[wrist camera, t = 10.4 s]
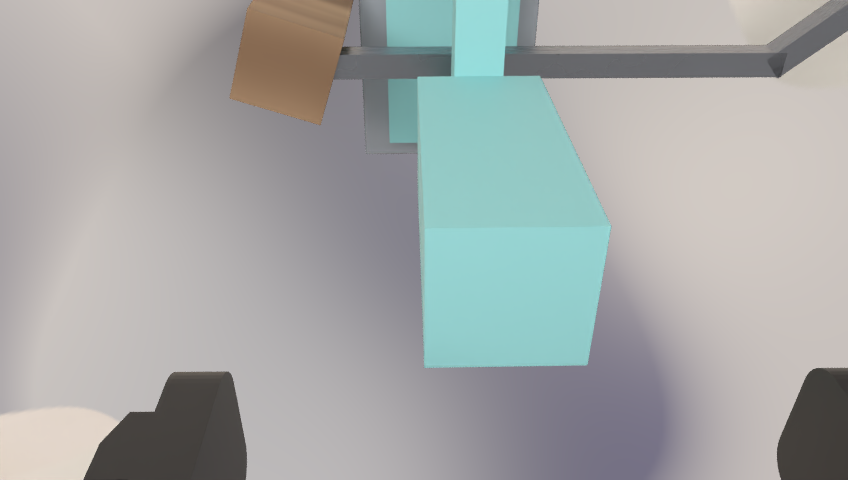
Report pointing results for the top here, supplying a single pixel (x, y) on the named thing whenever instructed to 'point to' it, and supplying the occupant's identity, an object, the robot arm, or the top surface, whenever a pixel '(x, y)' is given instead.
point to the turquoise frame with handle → (495, 197)
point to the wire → (615, 56)
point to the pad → (377, 89)
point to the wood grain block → (290, 55)
